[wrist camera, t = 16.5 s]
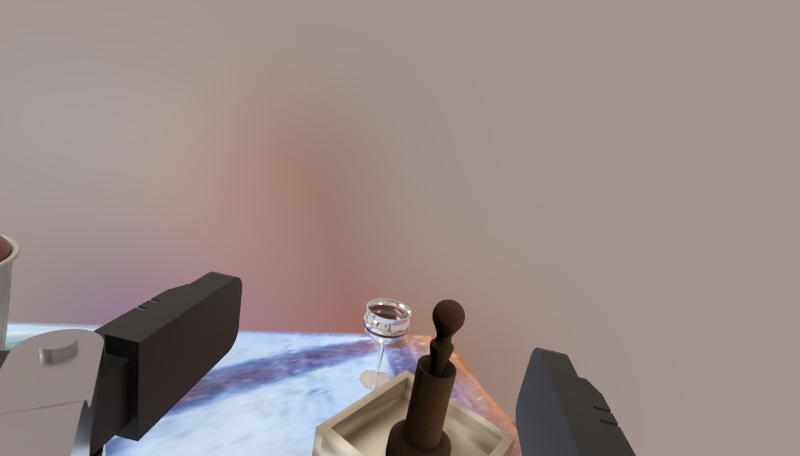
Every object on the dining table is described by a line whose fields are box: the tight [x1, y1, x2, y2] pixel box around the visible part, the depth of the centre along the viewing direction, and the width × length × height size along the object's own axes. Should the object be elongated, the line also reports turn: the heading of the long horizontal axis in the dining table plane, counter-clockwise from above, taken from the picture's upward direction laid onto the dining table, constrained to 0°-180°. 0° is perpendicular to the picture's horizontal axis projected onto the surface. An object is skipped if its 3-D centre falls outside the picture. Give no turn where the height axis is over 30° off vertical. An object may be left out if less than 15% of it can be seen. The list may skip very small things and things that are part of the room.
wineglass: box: [360, 299, 412, 390], centre depth 60 cm, size 7×7×12 cm
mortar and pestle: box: [386, 300, 465, 456], centre depth 40 cm, size 7×6×18 cm
